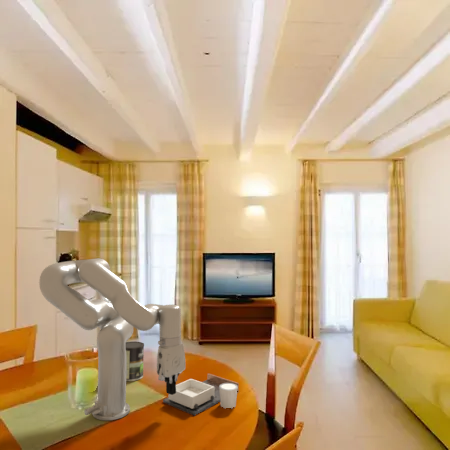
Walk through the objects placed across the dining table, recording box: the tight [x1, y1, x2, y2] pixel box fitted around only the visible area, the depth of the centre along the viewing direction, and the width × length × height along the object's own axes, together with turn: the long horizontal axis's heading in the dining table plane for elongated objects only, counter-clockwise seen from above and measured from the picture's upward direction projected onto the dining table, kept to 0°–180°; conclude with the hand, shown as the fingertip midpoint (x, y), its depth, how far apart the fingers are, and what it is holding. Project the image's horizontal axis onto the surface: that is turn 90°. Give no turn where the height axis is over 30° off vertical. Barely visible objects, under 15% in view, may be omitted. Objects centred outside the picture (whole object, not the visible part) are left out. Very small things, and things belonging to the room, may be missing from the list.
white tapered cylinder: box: [219, 383, 239, 409], centre depth 140 cm, size 7×7×7 cm
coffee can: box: [125, 341, 145, 382], centre depth 165 cm, size 10×10×14 cm
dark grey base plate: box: [162, 373, 240, 416], centre depth 146 cm, size 26×16×4 cm, turn 142°
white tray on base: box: [167, 378, 215, 409], centre depth 142 cm, size 12×14×4 cm
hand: (171, 393), depth 132 cm, fingers closed
